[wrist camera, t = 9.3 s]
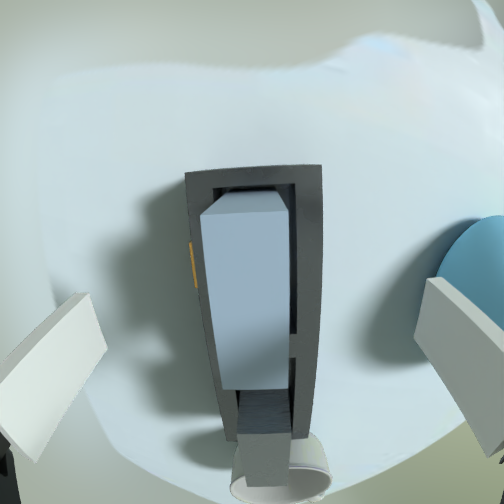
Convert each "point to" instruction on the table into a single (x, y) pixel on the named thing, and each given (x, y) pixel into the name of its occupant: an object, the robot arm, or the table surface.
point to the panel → (249, 286)
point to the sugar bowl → (479, 266)
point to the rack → (300, 316)
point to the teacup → (299, 476)
